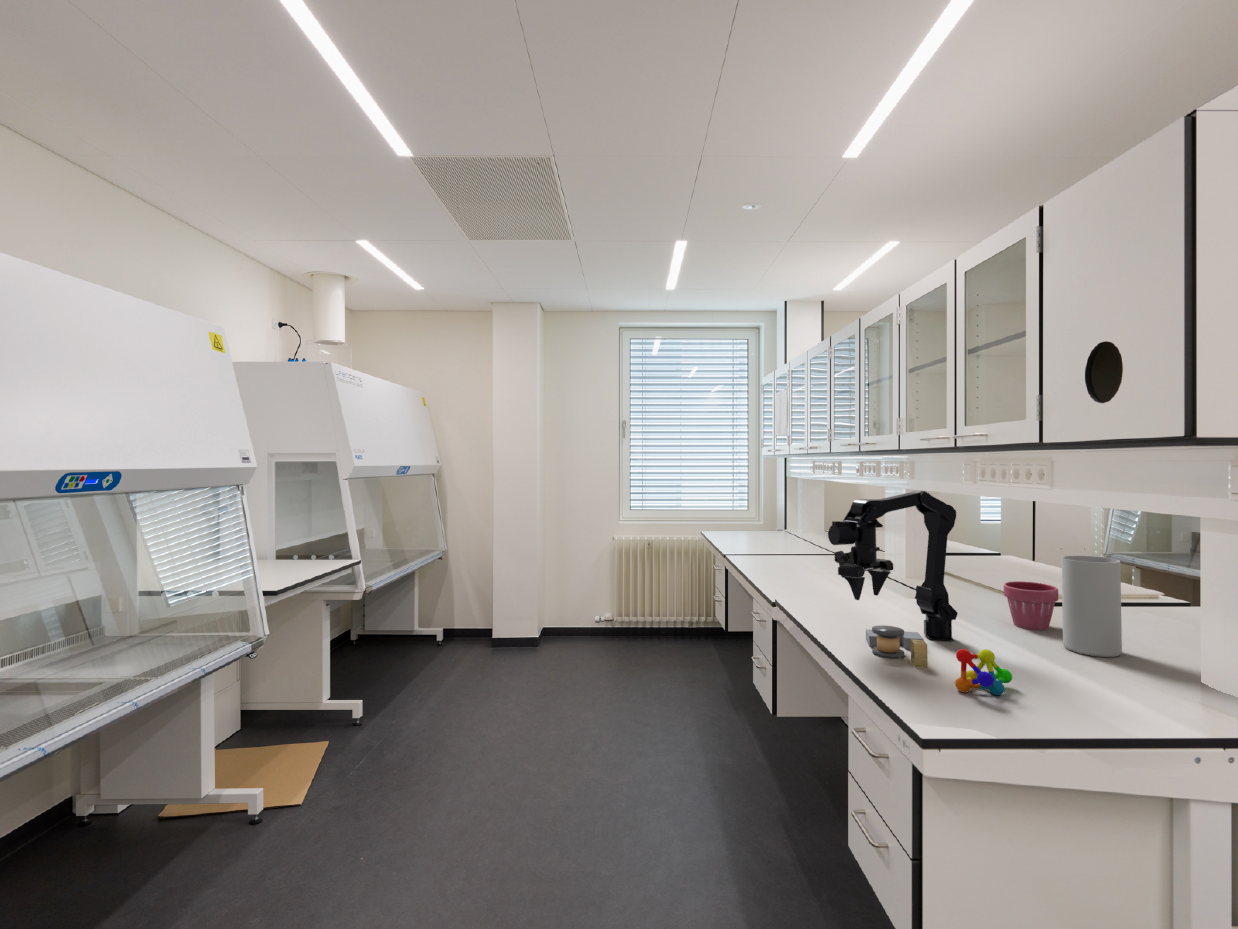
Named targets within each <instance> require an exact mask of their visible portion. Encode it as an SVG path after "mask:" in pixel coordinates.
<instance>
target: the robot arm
mask: <svg viewBox="0 0 1238 929" xmlns="http://www.w3.org/2000/svg"><path fill="white" fill-rule="evenodd" d="M912 507H915V509H916V510H917V511H918V512H919V513H920V514H922V516H923V523H924V526H925V528H926V530H927V532H928V537H927V538H928V539H927V547H926V549H927V550H926V561H925V562H926V563H925V572H924V573H925V575H924V581H923V582H922V584H921V585H918V584H917V585H916V587H915V592H916V593H915V596H914V599H915V600H916V605H917V606H918V607H919V610H920V613H921V614H923V615H925V619H924V620H923V634H924V635H925V636H926V637H927V639H928V640H933V641H937V640H938V641H949V642H950V641H951V642H952V641H953V642H954V638H953V632H952V631H953V627H952V626H953V625H952V624H953V622H952V621H956V620H957V617H958V611H957V610H956V609H954V608H953V606H952V605H951V604H950V599H949V593H948V590H947V588H946V586H945V583H944V582H945V573H946V572H945V569H946V568H945V567H946V561H947V560H946V559H947V558H946V557H947V548H948V535H949V534H950V533H951V531H952V529H954V527H955V523H956V518H957V510H956V509H955V508H954V506H952V505H951V504H947V503H945V502H944V501H943V500H941V499H939V498H937V497H934V496H933V495H932V494H930V493H929V492H927V491H925V490H913V491H910V492H906V493H902V494H896V495H893V496H887V497H884V498H877V499H876V498H873V499H871V498H870V499H868V498H865V499H863V498H860V499H855V500H853V501H852V503H851V506H850V509H849V510H848V512H847V513H846V515H845V516H844V518H843V520H841V521H840V520H839V521H838V520H832V521H831V524H832V525H830V527H829V529H828V531H827V537H828V541H829V543H830V544H831V545H833V546H843V545H844V546H845V545H854V546H851V547H850V551H848V552H844V551H843V550H839V551H835V552H834V562H835V563H837V564H838V567H837V575H838V576H840V577H841V578H843V579H844V580H846V581H847V582H848V585H849V587H850V590H851V593H852V595H853V597H854V598H853V599H854V600H855V601H860V599H861V595H862V592H863V588H864V583H865V580H866V576H865V572H868V574H869V575H870V576H871V577H870V578H871V583H872V584H871V585H872V591H873V592H872V593H873V595H874V596H879V594H880V592H881V590H882V588H883V586H884V585H885V582H886V581H887V578H888V577H889V575H890V574H891V572H892V571H894V563H893V562H892V561H891V559H883V558H877V557H878V556H877V552H879V551H880V547H879V546H877V528H883V527H884V525H883V524H882V523H881V522H880V521H879V520H878V519H880V518H881V517H883V516H884V515H886V514H887V513H890V512H894V511H899V510H903V509H908V508H912Z"/></svg>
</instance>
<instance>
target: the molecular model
mask: <svg viewBox="0 0 1238 929" xmlns="http://www.w3.org/2000/svg"><path fill="white" fill-rule="evenodd" d="M955 657H956V660H957V661H958V662H960V677H958V678H957V679H955V682H954V685H955V688H956V689H957V690H958V691H959V692H961V693H968V692H970V691H971V690H972V689H977V690H979V689H980V690H988V692H990V693H991V694H992V695H994V696H1001V695H1003V694H1004V692H1005V686H1004V684H1008V683H1010V682H1011V681H1012V680H1013V674H1012V673H1011V671H1010V670H1008V669H1006V668H1001V667H1000V666H999V665H998V664H997V662H996V661H995V660H996V656H995V653H994V652H993V651H992V650H990V649H987V648H986V649H981V650H980V651H979V653H971V651H969V650H968V649H966V648H960V649H959V650H957V652H956V654H955ZM973 660H980V661H979V662H978V664H977V665H976V664H975V663H974V662H973ZM985 664H986V669H987V671H982V669H983V668H984V666H985ZM967 665H968V666H969V667H970V668H971V669H972V670H967ZM995 671H996V672H995Z"/></svg>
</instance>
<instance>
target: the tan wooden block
mask: <svg viewBox="0 0 1238 929" xmlns="http://www.w3.org/2000/svg"><path fill="white" fill-rule="evenodd" d="M910 653H911V654H910V663H911V664H912V666H913V667H914V668H917V669H918V668H921V669H928V667H929V666H928V663H929V662H928V643H927V642H926V641H925V640H914V639H911V649H910Z"/></svg>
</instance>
